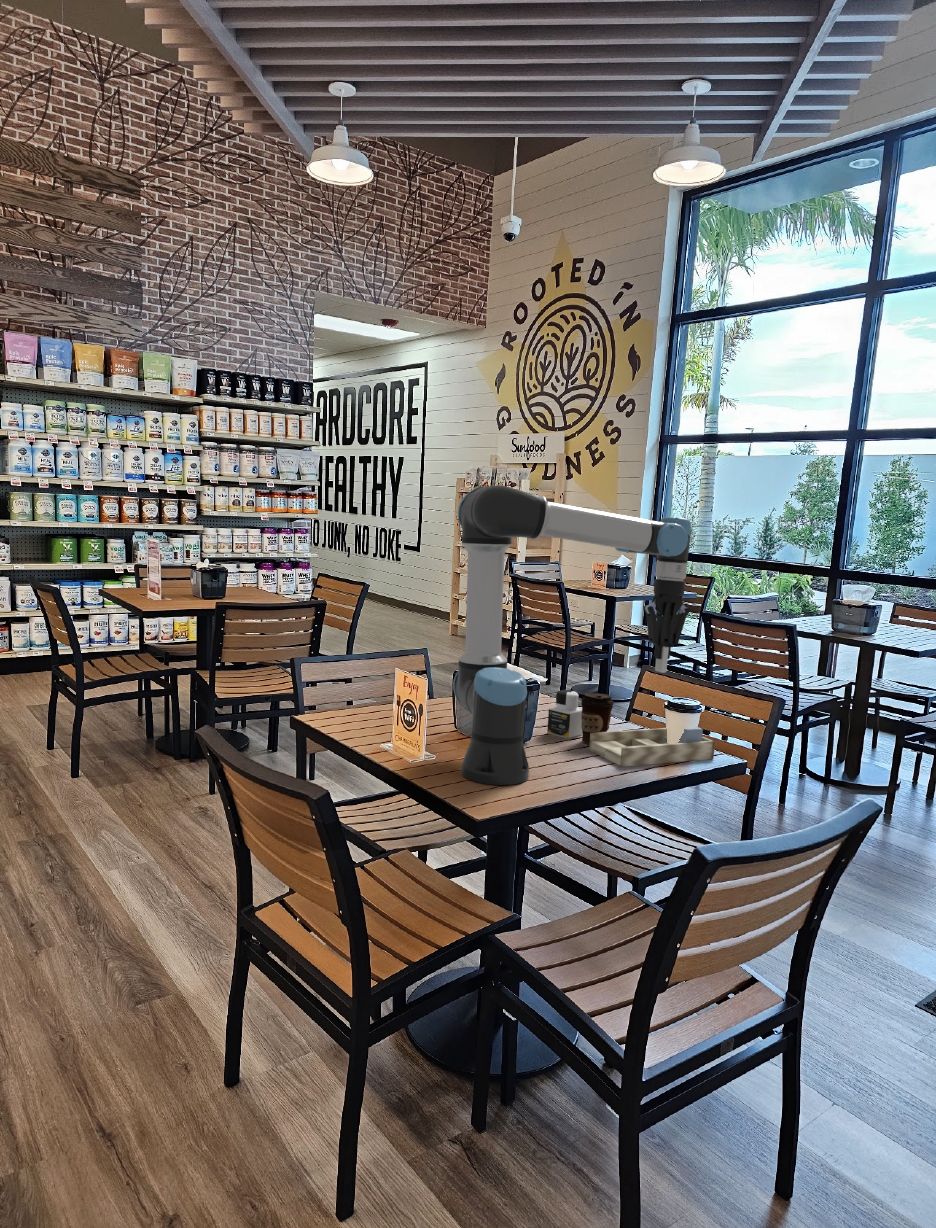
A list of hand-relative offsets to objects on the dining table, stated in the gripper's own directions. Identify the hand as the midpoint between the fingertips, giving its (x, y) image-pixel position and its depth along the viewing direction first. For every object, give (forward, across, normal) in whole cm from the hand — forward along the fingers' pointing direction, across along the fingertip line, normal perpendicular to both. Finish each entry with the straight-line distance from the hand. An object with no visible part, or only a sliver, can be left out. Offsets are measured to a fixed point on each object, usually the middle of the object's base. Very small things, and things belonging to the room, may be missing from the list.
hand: (660, 671), depth 202 cm
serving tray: (+21, -1, -1) cm, 21 cm away
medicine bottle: (+22, -13, +22) cm, 34 cm away
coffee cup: (+22, -10, +12) cm, 27 cm away
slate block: (+19, +8, -4) cm, 20 cm away
